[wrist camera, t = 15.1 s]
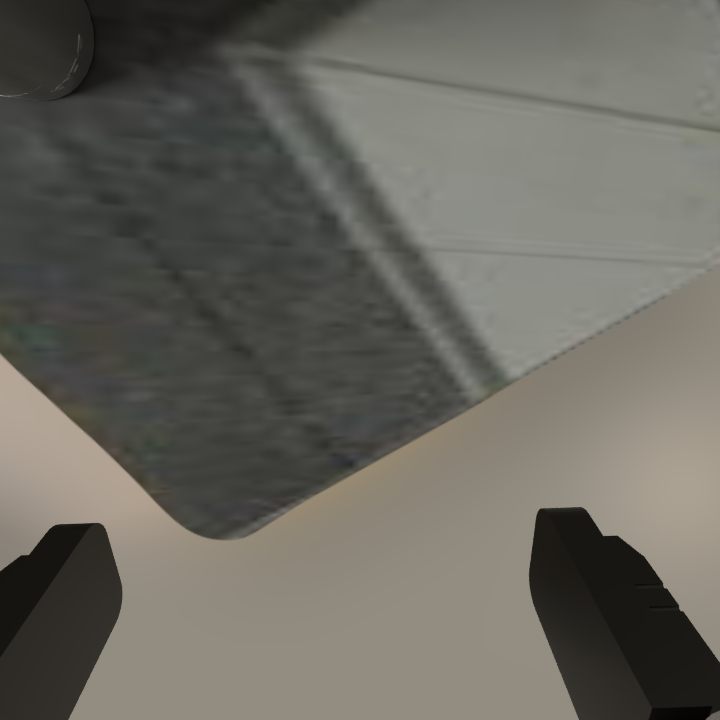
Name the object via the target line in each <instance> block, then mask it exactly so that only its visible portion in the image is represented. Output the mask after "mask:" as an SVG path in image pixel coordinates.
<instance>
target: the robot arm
mask: <svg viewBox="0 0 720 720" xmlns="http://www.w3.org/2000/svg"><path fill="white" fill-rule="evenodd" d="M93 51H94V30H93V25H92V21H91V16H90V12H89V10H88V7H87V5H86V3H85V0H0V96H5V97H12V98H19V99H26V100H35V101H48V100H54V99H59V98H61V97H63V96H65V95H67V94H69V93H71V92H72V91H73V90H74V89H75V88H76V87H77V86H79V85H80V83H81V82H82V80H83V79H84V77H85V76H86V75H87V73H88V70H89V67H90V65H91V62H92V58H93ZM529 583H530V591H531V596H532V600H533V604H534V607H535V610H536V612H537V615H538V617H539V620H540V622H541V625H542V627H543V630H544V632H545V635H546V638H547V640H548V642H549V645H550V647H551V650H552V653H553V655H554V658H555V660H556V663H557V665H558V668H559V670H560V673H561V675H562V678H563V680H564V683H565V685H566V688H567V690H568V693H569V695H570V698H571V701H572V703H573V706H574V708H575V710H576V713H577V715H578V718H579V720H720V662H719V661H718V660H717V658H716V657H715V655H714V654H713V653H712V651H711V650H710V648H709V647H708V646H707V644H706V643H705V641H704V640H703V639H702V637H701V636H700V634H699V633H698V632H697V630H696V629H695V627H694V626H693V624H692V623H691V622H690V620H689V619H688V617H687V616H686V615H685V613H684V612H683V611H680V609H679V605H678V604H677V602H676V601H675V599H674V598H673V597H672V595H671V594H670V592H669V591H668V589H664V587H663V582H662V581H661V580H660V578H659V577H658V575H657V574H656V573H655V571H654V570H653V568H652V567H651V566H650V564H649V563H648V561H647V560H646V559H645V557H644V556H642V555H641V554H640V553H639V552H637V551H636V550H635V549H634V548H632V547H631V546H630V545H628V544H627V543H626V542H625V541H623V540H622V539H621V538H619V537H618V536H603V535H602V534H601V532H600V531H599V529H598V527H597V526H596V524H595V523H594V521H593V520H592V518H591V517H590V515H589V513H588V512H587V511H586V510H585V509H584V508H582V507H572V508H543V509H540V510H539V511H538V513H537V516H536V523H535V531H534V538H533V546H532V554H531V561H530V569H529ZM121 604H122V585H121V580H120V577H119V573H118V570H117V566H116V563H115V559H114V556H113V553H112V549H111V546H110V542H109V539H108V535H107V532H106V529H105V528H104V526H103V525H101V524H100V523H87V524H86V523H85V524H59V525H55V526H53V527H52V528H50V529H49V531H48V532H47V533H46V534H45V535H44V537H43V538H42V539H41V540H40V542H39V543H38V544H37V546H36V547H35V548H34V550H33V551H32V552H31V553H30V554H29V555H23V556H20V557H19V558H17V559H16V560H15V561H13V562H12V563H11V564H9V565H8V566H7V567H5V568H4V569H3V570H1V571H0V720H68V719H69V717H70V715H71V713H72V711H73V709H74V707H75V705H76V703H77V701H78V699H79V696H80V695H81V693H82V691H83V689H84V687H85V684H86V682H87V680H88V678H89V676H90V674H91V672H92V670H93V668H94V666H95V664H96V662H97V660H98V658H99V656H100V654H101V652H102V650H103V648H104V646H105V644H106V642H107V640H108V638H109V636H110V634H111V632H112V630H113V628H114V626H115V623H116V621H117V619H118V616H119V613H120V609H121Z"/></svg>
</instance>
